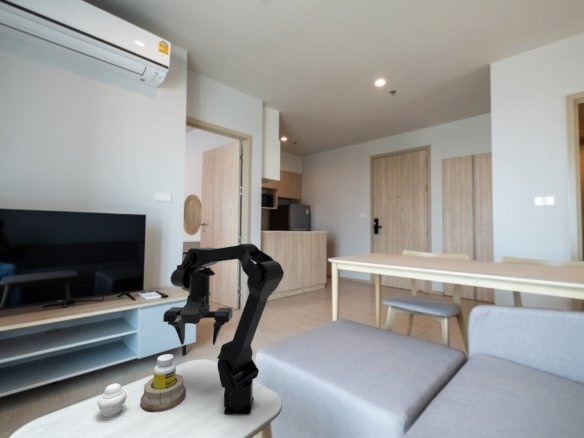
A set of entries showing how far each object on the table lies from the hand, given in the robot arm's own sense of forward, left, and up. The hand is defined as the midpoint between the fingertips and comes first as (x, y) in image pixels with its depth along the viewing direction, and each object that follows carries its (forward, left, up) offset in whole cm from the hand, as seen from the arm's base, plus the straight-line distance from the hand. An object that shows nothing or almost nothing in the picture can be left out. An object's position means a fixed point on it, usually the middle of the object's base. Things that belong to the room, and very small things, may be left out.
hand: (198, 344), depth 81 cm
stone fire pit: (+7, +6, -12) cm, 15 cm away
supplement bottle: (+7, +6, -11) cm, 14 cm away
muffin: (+17, +12, -12) cm, 24 cm away
